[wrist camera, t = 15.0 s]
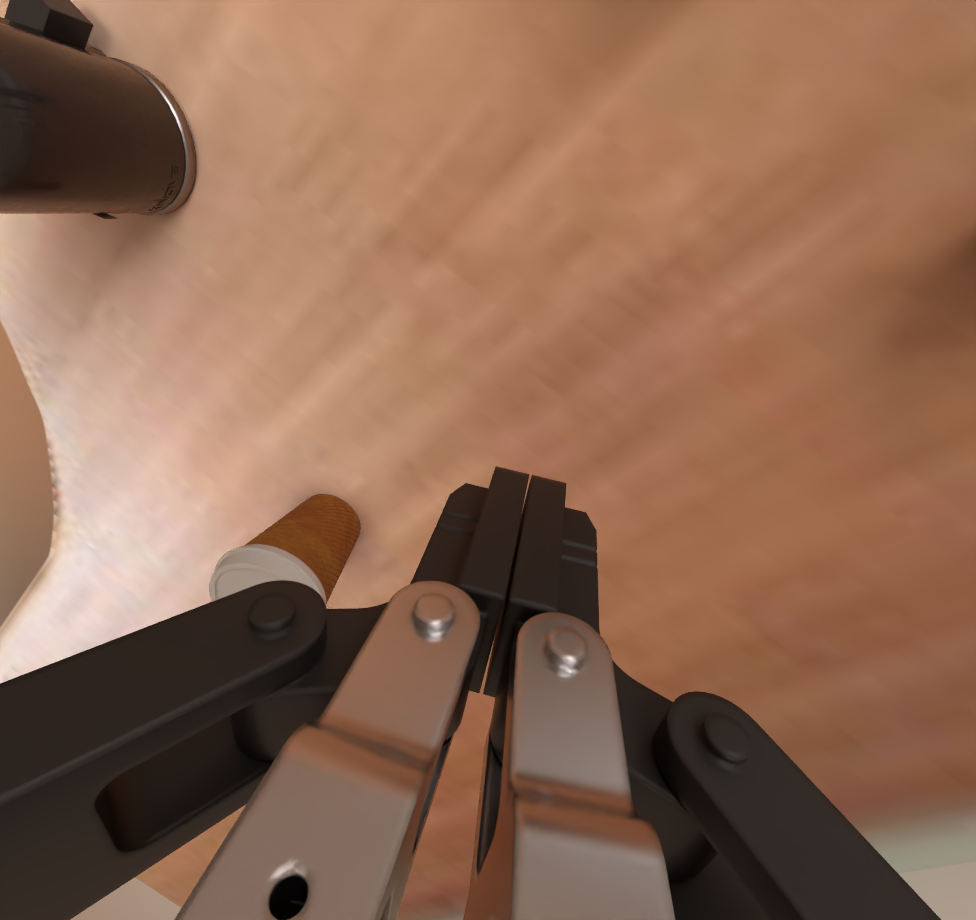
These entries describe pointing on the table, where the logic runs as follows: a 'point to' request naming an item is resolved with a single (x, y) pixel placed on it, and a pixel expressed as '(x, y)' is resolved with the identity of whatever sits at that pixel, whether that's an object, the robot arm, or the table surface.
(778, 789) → the robot arm
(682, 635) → the table surface
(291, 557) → the disposable coffee cup
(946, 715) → the table surface
